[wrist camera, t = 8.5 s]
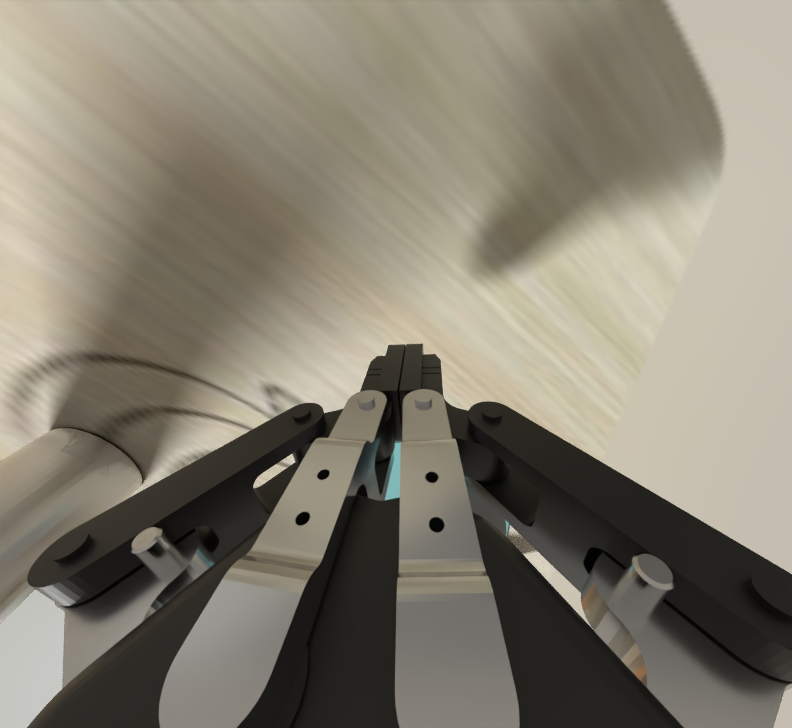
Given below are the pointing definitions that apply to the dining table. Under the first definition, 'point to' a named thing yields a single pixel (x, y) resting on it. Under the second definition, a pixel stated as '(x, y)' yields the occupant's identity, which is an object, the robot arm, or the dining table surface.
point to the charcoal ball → (485, 510)
